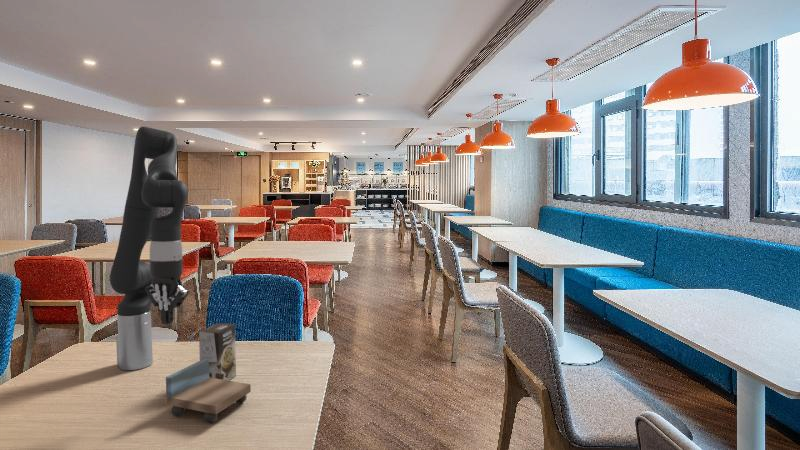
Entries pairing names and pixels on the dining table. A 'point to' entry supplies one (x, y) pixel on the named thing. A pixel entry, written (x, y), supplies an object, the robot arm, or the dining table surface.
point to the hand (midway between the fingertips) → (167, 323)
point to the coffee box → (219, 350)
